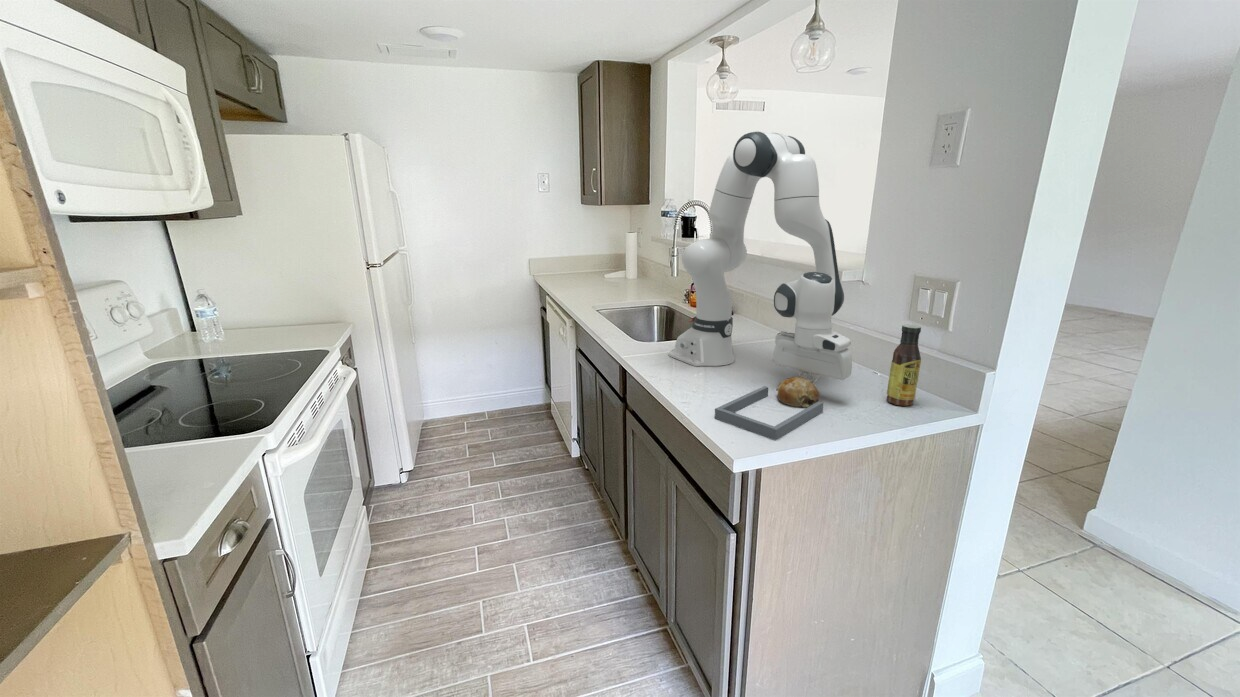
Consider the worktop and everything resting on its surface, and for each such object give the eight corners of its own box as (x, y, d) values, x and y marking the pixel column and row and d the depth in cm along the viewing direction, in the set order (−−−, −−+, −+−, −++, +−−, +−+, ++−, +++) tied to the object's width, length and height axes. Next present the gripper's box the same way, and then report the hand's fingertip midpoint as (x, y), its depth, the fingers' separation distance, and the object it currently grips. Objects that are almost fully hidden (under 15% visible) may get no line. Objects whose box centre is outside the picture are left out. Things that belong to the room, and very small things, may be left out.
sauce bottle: (902, 409, 124) (913, 330, 119) (880, 400, 130) (889, 325, 124) (920, 404, 127) (931, 327, 121) (897, 395, 132) (907, 321, 127)
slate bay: (714, 418, 122) (715, 408, 122) (764, 394, 136) (764, 385, 135) (775, 440, 111) (776, 429, 110) (822, 412, 124) (823, 402, 123)
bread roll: (789, 421, 128) (801, 399, 123) (765, 393, 134) (775, 371, 129) (818, 413, 132) (831, 391, 127) (793, 386, 138) (805, 365, 133)
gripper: (769, 332, 136) (767, 381, 140) (846, 346, 121) (840, 400, 125) (782, 327, 140) (779, 375, 144) (857, 341, 125) (851, 393, 129)
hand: (808, 387), depth 134 cm, fingers closed
